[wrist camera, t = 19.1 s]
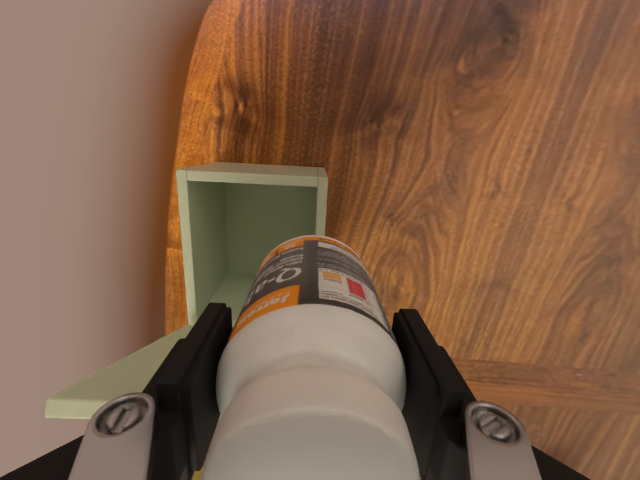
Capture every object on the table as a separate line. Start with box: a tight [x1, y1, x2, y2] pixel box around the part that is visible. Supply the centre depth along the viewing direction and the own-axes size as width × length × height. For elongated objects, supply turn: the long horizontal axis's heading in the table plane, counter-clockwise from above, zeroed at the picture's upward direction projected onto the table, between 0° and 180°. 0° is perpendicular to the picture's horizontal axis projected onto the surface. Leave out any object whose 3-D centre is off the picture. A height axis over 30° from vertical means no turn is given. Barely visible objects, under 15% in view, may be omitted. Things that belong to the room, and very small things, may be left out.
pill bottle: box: [202, 235, 420, 480], centre depth 11 cm, size 6×6×10 cm
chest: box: [176, 162, 328, 326], centre depth 31 cm, size 14×12×11 cm
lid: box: [45, 325, 234, 480], centre depth 20 cm, size 14×12×6 cm
